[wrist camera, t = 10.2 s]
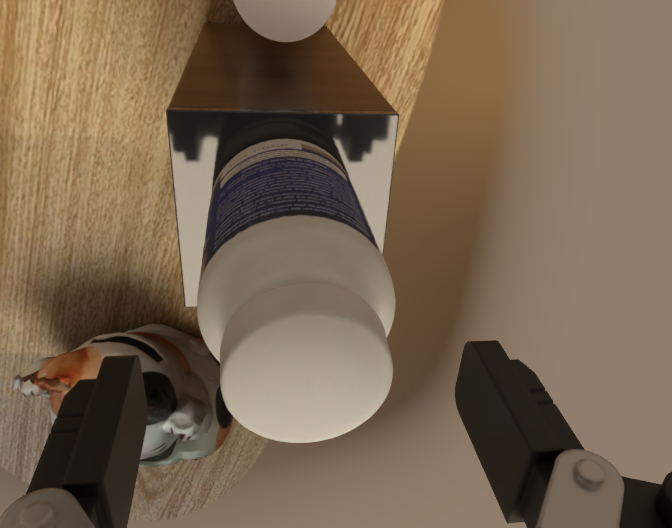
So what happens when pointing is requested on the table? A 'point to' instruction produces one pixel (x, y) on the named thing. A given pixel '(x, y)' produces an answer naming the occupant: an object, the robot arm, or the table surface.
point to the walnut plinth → (273, 73)
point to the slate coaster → (263, 125)
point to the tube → (285, 17)
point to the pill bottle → (294, 295)
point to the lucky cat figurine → (149, 388)
